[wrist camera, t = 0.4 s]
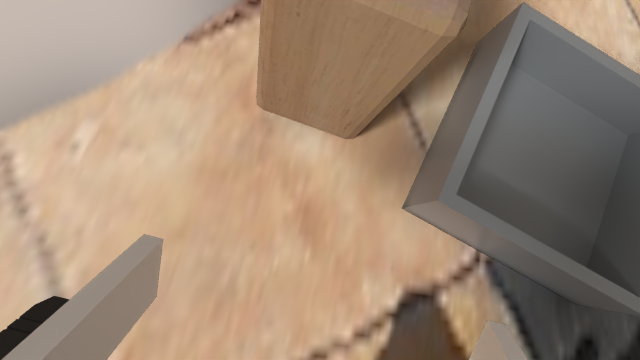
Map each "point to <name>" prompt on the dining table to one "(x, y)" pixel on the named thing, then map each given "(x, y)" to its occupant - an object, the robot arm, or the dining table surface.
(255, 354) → the dining table surface
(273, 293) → the dining table surface
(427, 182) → the box
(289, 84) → the block
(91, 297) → the robot arm
